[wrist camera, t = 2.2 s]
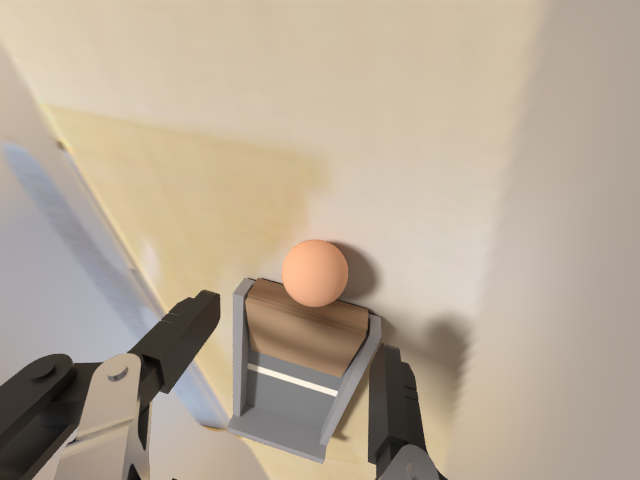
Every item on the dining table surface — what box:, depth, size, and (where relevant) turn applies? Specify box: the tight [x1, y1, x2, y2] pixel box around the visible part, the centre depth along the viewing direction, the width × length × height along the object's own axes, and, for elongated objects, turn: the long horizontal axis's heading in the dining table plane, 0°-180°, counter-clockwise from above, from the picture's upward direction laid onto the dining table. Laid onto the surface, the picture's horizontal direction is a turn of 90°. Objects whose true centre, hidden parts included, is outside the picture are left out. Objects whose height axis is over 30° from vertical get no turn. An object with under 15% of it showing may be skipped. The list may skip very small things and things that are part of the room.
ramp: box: [245, 278, 368, 378], centre depth 20 cm, size 9×9×3 cm
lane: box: [228, 278, 382, 464], centre depth 22 cm, size 20×11×3 cm, turn 169°
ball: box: [282, 240, 348, 307], centre depth 15 cm, size 4×4×4 cm
